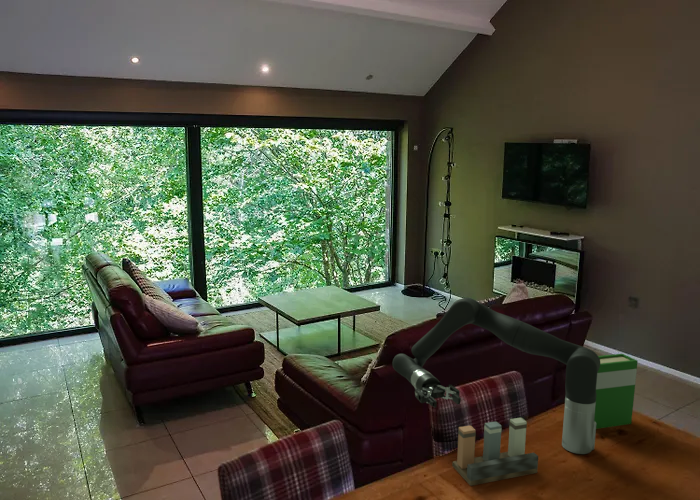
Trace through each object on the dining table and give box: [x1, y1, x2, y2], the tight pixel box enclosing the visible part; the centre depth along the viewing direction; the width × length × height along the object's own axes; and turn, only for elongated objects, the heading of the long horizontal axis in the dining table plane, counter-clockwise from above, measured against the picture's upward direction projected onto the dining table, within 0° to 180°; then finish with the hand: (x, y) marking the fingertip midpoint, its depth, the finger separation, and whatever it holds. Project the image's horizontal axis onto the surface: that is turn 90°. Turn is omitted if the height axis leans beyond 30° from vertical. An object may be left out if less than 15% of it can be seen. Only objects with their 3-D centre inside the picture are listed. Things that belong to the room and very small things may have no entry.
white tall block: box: [507, 417, 528, 457], centre depth 174 cm, size 4×3×12 cm
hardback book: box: [594, 353, 639, 430], centre depth 200 cm, size 18×7×24 cm, turn 106°
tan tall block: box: [456, 425, 477, 469], centre depth 169 cm, size 4×3×12 cm
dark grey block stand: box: [451, 451, 539, 487], centre depth 170 cm, size 23×11×6 cm, turn 108°
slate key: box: [482, 421, 503, 461], centre depth 172 cm, size 4×3×12 cm
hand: (447, 403), depth 179 cm, fingers open, 8 cm apart
